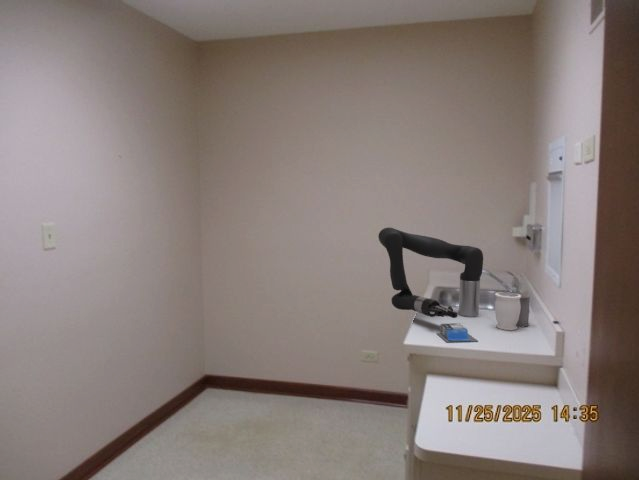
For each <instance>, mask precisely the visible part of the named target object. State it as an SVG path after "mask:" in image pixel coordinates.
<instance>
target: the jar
mask: <svg viewBox="0 0 639 480" xmlns="http://www.w3.org/2000/svg"><path fill="white" fill-rule="evenodd" d="M510 296H515V297H510ZM495 297H496V299H495V302H494V314H495V321H496V322H497V324H496V328H498V329H500V330H504V331H515V330H517V329H518V327H517V326H516V324H517V322H518V320H519V315H520V309H521V305H520V298H521V295H519V294H516V293H510V292H509V291H507V292H506V291H504V292H503V291H498V292H496V293H495Z"/></svg>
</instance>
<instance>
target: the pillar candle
mask: <svg viewBox="0 0 639 480" xmlns="http://www.w3.org/2000/svg"><path fill="white" fill-rule="evenodd" d="M510 293H516V294H519V295H521V298H520V305H521V309H520V315H519V320H518V322H517V324H516V326H517V328H524V327H528V326H529V318H530V317H529V316H530V298H531V296H530V294H528V293H525V292H520V291H511V292H510ZM510 297H515V296H510Z"/></svg>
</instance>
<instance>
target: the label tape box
mask: <svg viewBox="0 0 639 480" xmlns="http://www.w3.org/2000/svg"><path fill="white" fill-rule="evenodd" d="M439 333H442V334H443V335H444V336H445V337H446V338H447V339H448V340H451V341H471V340H469V337H468V334H469V332H468V328H466V327H465V326H464V325H463V324H462V323H461V322H457V323H440V332H439Z"/></svg>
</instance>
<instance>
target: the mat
mask: <svg viewBox="0 0 639 480" xmlns="http://www.w3.org/2000/svg"><path fill="white" fill-rule="evenodd" d="M436 335H437V336H438V337H440V339H442V340H443V341H444V342H445V343H446V344H452V343H453V344H454V343H456V344H457V343H478V342H479V340H477V338H475V337H474V336H472V335H470V334H469V333H468V337H469V340H471V341H451V340H448V339H447V338H446V337H445V336H444V335H443V334H442V333H441V332H436Z"/></svg>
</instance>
